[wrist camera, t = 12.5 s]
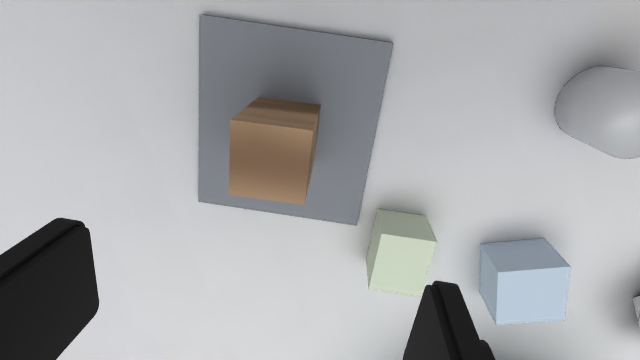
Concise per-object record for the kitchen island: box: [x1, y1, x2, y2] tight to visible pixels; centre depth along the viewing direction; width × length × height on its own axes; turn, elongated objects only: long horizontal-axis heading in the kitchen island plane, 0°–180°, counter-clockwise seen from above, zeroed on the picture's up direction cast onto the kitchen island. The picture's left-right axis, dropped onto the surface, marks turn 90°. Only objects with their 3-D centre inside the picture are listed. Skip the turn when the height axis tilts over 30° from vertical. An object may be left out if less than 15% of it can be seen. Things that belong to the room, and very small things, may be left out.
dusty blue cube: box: [479, 238, 571, 325], centre depth 29 cm, size 5×5×4 cm
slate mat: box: [198, 15, 393, 226], centre depth 27 cm, size 14×13×1 cm
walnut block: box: [229, 97, 321, 205], centre depth 24 cm, size 4×4×7 cm
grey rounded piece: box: [554, 66, 640, 159], centre depth 24 cm, size 5×5×4 cm
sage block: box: [366, 209, 437, 297], centre depth 29 cm, size 5×4×4 cm
